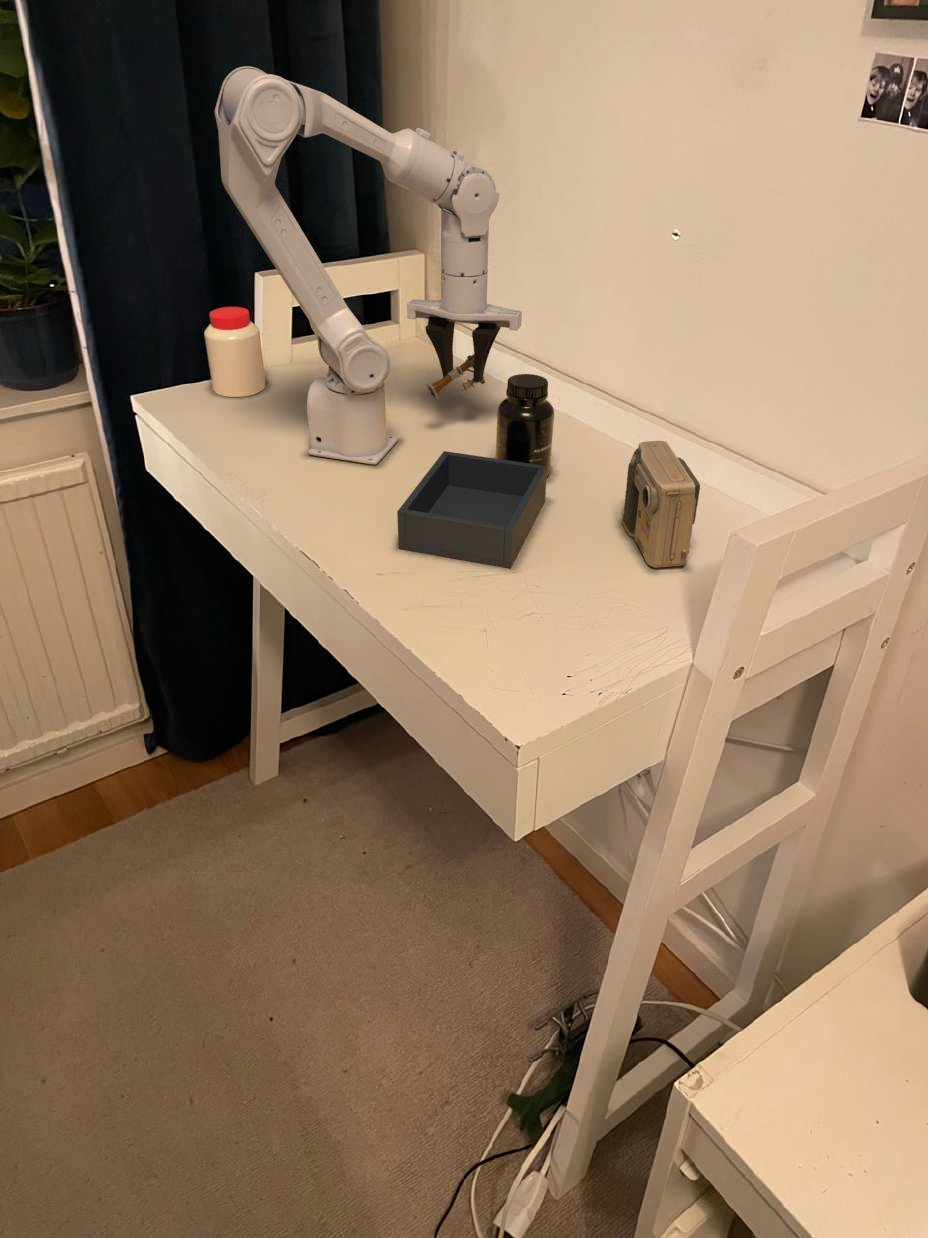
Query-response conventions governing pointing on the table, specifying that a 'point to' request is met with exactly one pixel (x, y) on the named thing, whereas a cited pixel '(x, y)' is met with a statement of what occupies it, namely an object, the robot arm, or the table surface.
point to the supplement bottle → (525, 421)
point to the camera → (660, 504)
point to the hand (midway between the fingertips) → (463, 377)
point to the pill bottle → (234, 353)
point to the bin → (473, 509)
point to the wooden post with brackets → (454, 378)
